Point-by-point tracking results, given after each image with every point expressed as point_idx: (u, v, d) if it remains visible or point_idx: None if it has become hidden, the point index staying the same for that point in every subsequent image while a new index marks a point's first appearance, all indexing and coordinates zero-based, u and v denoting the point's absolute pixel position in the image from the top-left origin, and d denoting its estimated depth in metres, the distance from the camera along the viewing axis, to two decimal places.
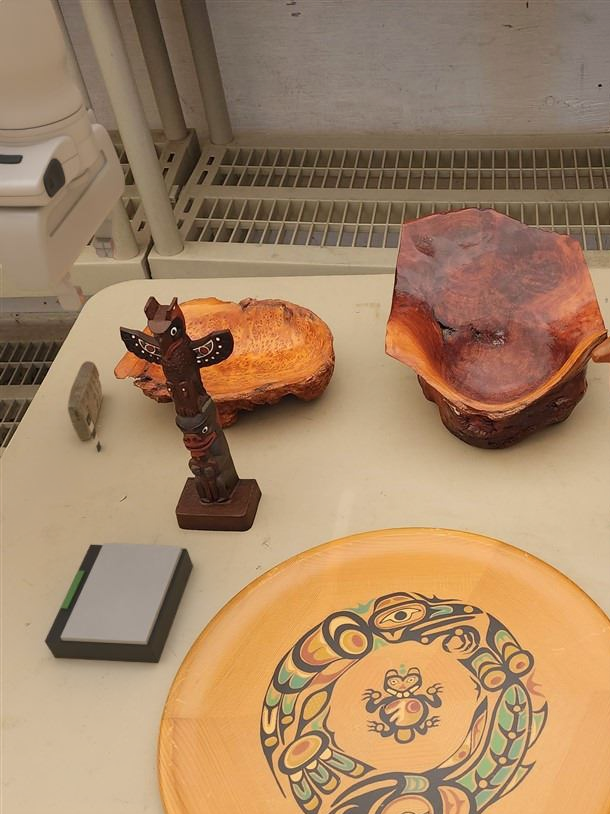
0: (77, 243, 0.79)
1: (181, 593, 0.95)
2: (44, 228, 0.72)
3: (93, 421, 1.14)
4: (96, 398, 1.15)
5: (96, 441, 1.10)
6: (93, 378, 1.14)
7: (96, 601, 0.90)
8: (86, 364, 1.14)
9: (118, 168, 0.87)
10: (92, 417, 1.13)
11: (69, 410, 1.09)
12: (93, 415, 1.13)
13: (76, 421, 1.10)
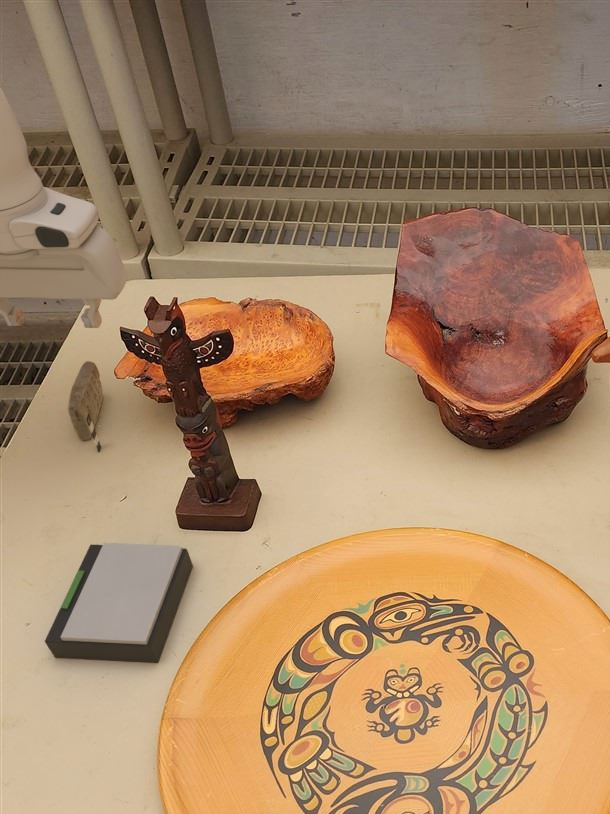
0: None
1: (181, 593, 0.95)
2: None
3: (93, 421, 1.14)
4: (96, 398, 1.15)
5: (96, 441, 1.10)
6: (94, 378, 1.14)
7: (96, 601, 0.90)
8: (86, 364, 1.14)
9: None
10: (92, 417, 1.13)
11: (69, 410, 1.09)
12: (93, 415, 1.13)
13: (76, 422, 1.10)
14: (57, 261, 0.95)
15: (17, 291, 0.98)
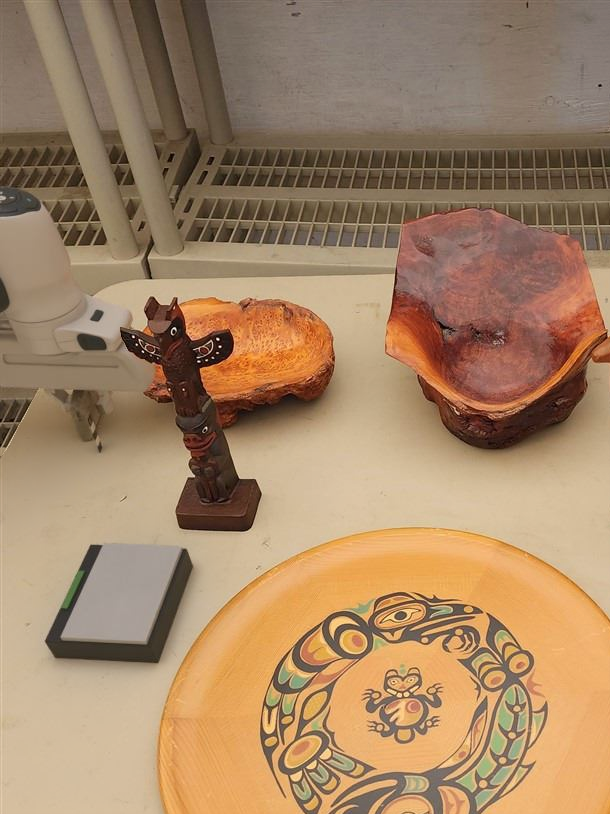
0: None
1: (181, 593, 0.95)
2: None
3: (95, 421, 1.13)
4: None
5: (97, 442, 1.10)
6: None
7: (96, 601, 0.90)
8: None
9: None
10: (94, 417, 1.13)
11: (71, 410, 1.09)
12: (95, 415, 1.13)
13: (77, 422, 1.10)
14: (94, 360, 1.05)
15: (56, 384, 1.08)
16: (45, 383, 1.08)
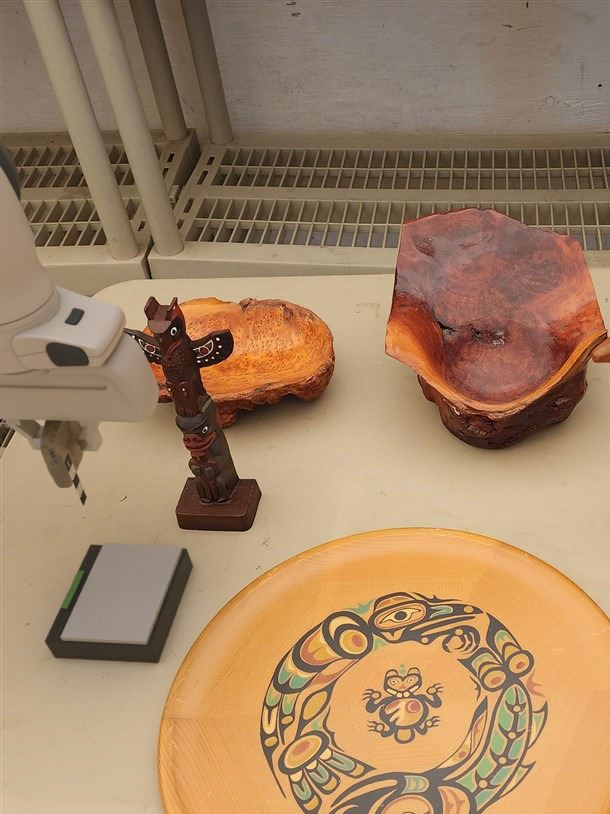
0: None
1: (181, 593, 0.95)
2: None
3: (77, 462, 0.83)
4: None
5: (79, 491, 0.80)
6: None
7: (96, 601, 0.90)
8: None
9: None
10: (75, 456, 0.82)
11: (42, 449, 0.78)
12: (77, 453, 0.83)
13: (51, 464, 0.79)
14: (73, 379, 0.75)
15: (21, 412, 0.78)
16: (6, 412, 0.78)
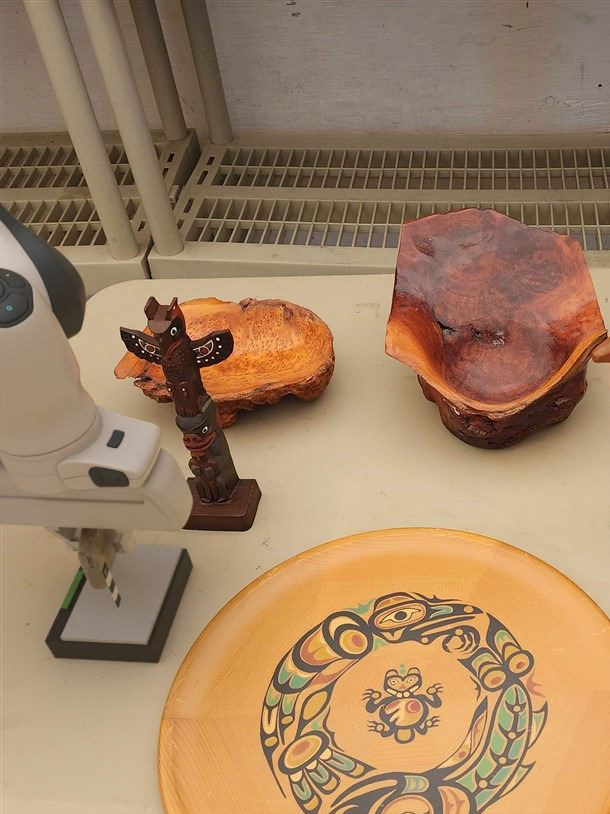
0: None
1: (181, 593, 0.95)
2: None
3: (111, 562, 0.86)
4: (115, 530, 0.87)
5: (115, 595, 0.83)
6: None
7: (96, 601, 0.90)
8: None
9: None
10: (110, 558, 0.85)
11: (80, 556, 0.81)
12: (111, 555, 0.86)
13: (88, 569, 0.83)
14: (112, 494, 0.78)
15: (60, 521, 0.81)
16: (45, 520, 0.81)
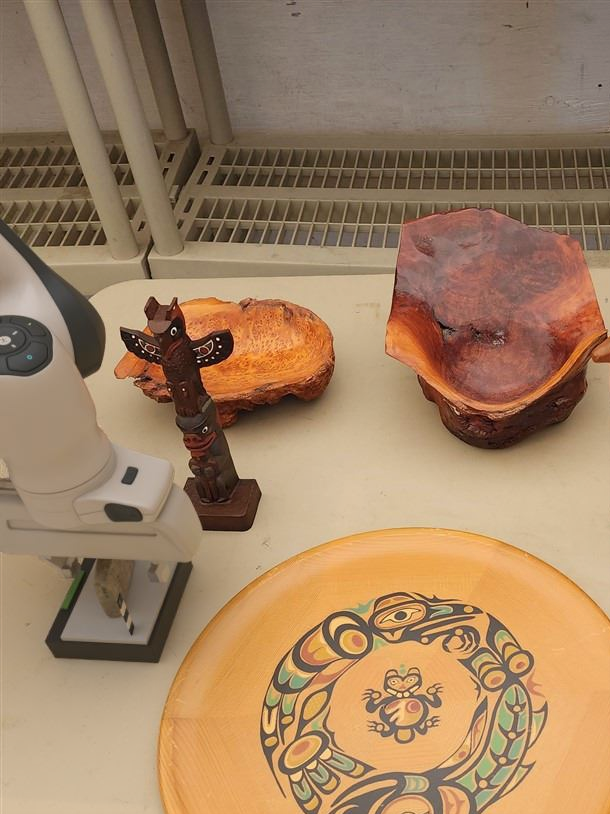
0: None
1: (181, 593, 0.95)
2: None
3: (125, 591, 0.90)
4: (129, 560, 0.91)
5: (128, 624, 0.86)
6: None
7: (96, 601, 0.90)
8: None
9: None
10: (124, 587, 0.89)
11: (95, 586, 0.85)
12: (125, 584, 0.89)
13: (103, 598, 0.86)
14: (125, 527, 0.81)
15: (75, 552, 0.84)
16: (61, 551, 0.84)
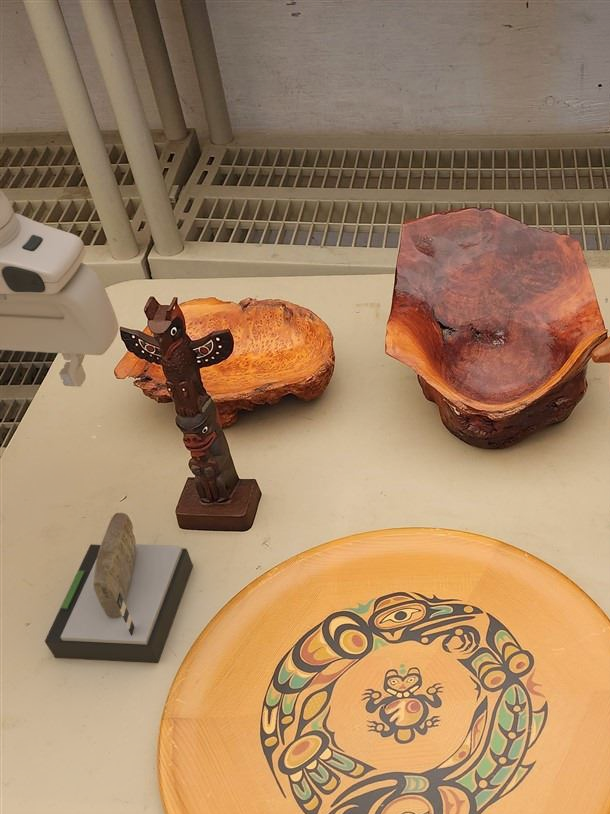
0: None
1: (181, 593, 0.95)
2: None
3: (125, 591, 0.90)
4: (129, 560, 0.91)
5: (128, 624, 0.86)
6: (125, 535, 0.90)
7: (96, 601, 0.90)
8: (117, 516, 0.91)
9: None
10: (124, 587, 0.89)
11: (95, 586, 0.85)
12: (125, 584, 0.89)
13: (103, 598, 0.86)
14: (30, 308, 0.75)
15: None
16: None
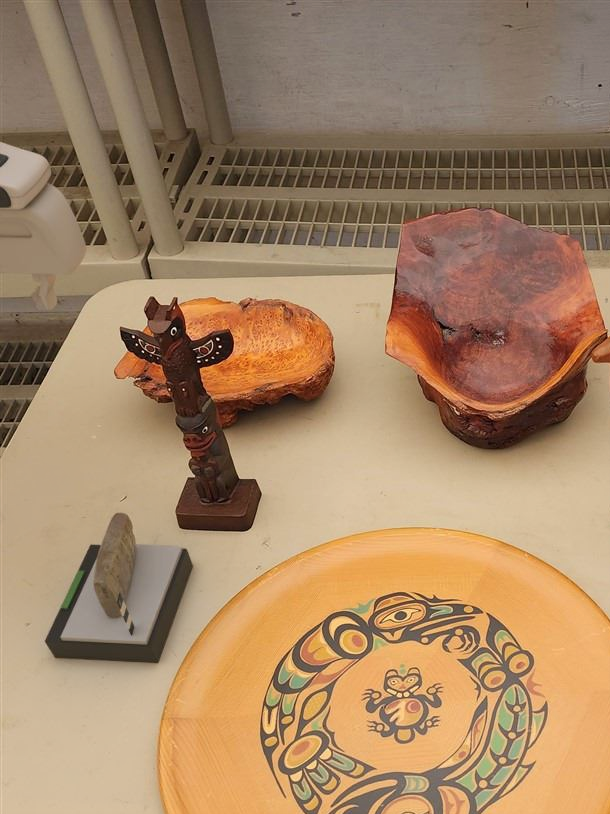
0: None
1: (181, 593, 0.95)
2: None
3: (125, 591, 0.90)
4: (129, 560, 0.91)
5: (128, 624, 0.86)
6: (125, 535, 0.90)
7: (96, 601, 0.90)
8: (117, 516, 0.91)
9: None
10: (124, 587, 0.89)
11: (95, 586, 0.85)
12: (125, 584, 0.89)
13: (103, 598, 0.86)
14: None
15: None
16: None
